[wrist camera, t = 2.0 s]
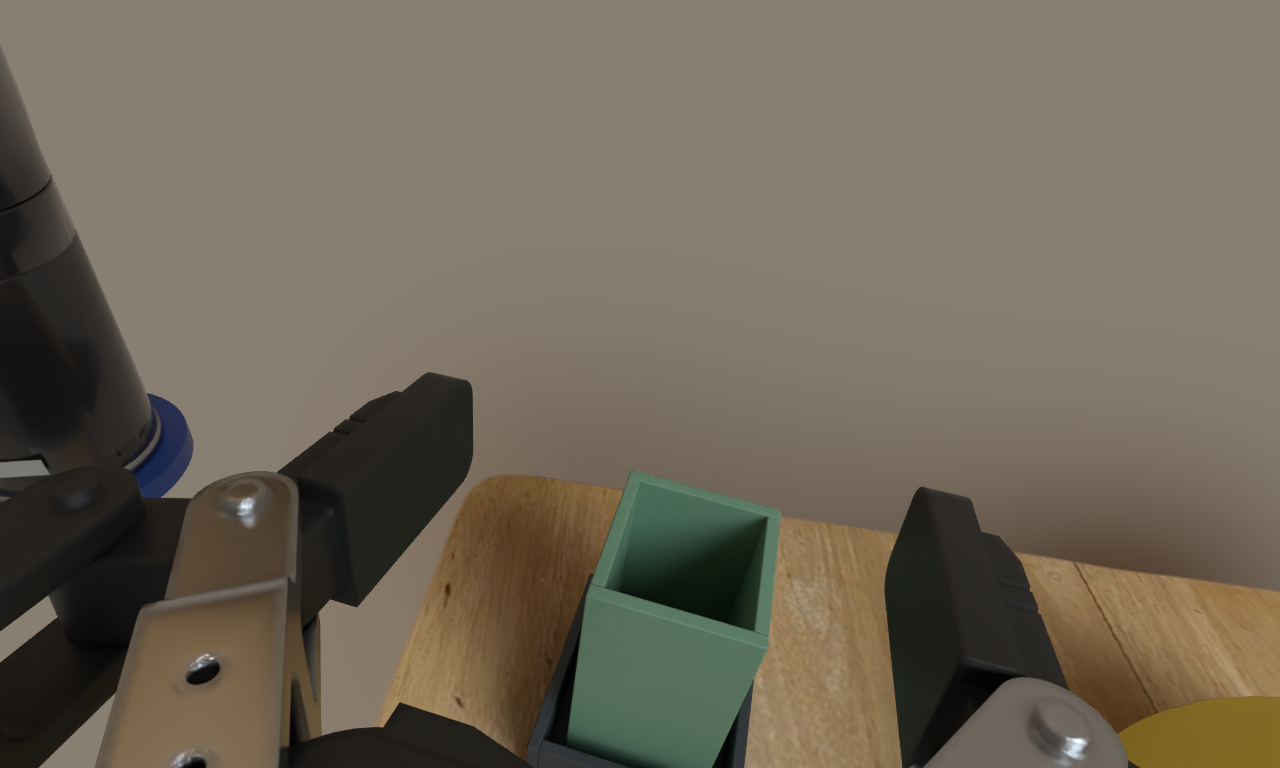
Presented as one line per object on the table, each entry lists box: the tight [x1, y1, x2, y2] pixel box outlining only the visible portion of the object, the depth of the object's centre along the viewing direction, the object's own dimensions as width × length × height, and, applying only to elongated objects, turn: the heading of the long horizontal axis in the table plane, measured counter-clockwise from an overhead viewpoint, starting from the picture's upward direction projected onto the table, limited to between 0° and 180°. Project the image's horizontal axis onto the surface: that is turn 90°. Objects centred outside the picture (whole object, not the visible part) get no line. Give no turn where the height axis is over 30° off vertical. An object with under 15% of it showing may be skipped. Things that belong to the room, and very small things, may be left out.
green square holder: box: [566, 470, 781, 768], centre depth 27 cm, size 6×6×12 cm
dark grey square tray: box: [526, 574, 754, 768], centre depth 30 cm, size 9×9×3 cm
